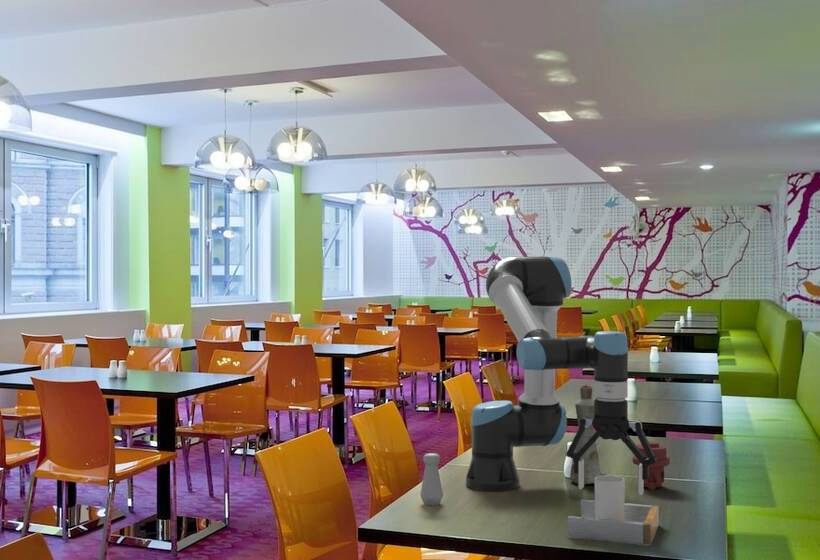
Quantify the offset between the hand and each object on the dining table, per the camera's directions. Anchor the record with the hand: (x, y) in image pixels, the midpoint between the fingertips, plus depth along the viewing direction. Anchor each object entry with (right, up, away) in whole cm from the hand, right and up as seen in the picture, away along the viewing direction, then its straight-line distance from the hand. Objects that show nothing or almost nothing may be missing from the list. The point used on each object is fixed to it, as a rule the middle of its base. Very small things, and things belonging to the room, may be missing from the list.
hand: (610, 490), depth 199 cm
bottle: (+4, -9, +47) cm, 48 cm away
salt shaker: (-41, -10, +25) cm, 49 cm away
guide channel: (+1, -9, -1) cm, 9 cm away
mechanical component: (+21, -9, +41) cm, 47 cm away
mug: (0, -9, 0) cm, 9 cm away
